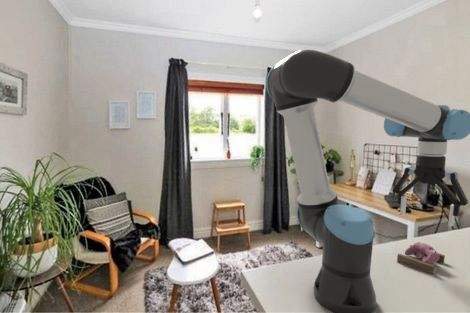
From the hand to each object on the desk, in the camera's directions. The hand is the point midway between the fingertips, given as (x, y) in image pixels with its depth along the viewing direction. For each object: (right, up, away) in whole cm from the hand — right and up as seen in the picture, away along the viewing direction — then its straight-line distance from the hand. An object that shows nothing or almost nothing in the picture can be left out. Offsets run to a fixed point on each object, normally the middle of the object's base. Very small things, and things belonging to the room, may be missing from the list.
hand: (425, 219), depth 92 cm
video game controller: (0, -15, +2) cm, 15 cm away
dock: (-1, -15, +2) cm, 15 cm away
